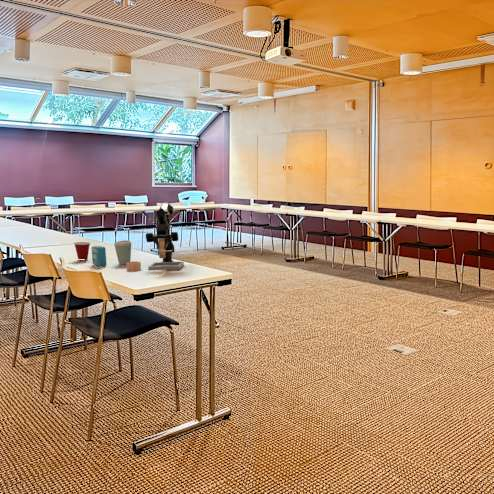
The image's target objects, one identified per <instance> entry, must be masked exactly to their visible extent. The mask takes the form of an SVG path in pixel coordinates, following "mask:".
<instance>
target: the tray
mask: <svg viewBox="0 0 494 494" xmlns="http://www.w3.org/2000/svg"><path fill="white" fill-rule="evenodd" d="M184 265H185V264H184V261H173V262H162V261H160V262H159V261H158V262H157V261H156V262H153V263H151V264H150V265H149V266H148V267H147V268H148V271H153V270H154V271H155V270H159V271H160V270H165V271H166V272H167V271H169V272H170V271H180V270H181V269H182V268H183V267H185V266H184Z"/></svg>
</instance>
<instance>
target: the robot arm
mask: <svg viewBox="0 0 494 494" xmlns="http://www.w3.org/2000/svg"><path fill="white" fill-rule="evenodd" d="M174 210H175V209H174V206H173V205H171V204H170V203H169V202H163V203H162V202H161V206H159V209H158V210H156V212H155V218H156V221H157V224H156V233H154V234H153V232H147V233H145V240H146V242H147V243H154V244H155V245H156V247H157V250H159V242H158V239H165V256H166V258H162V261H161V262H174V259H173V257H172V255H173V253H175V245H174V243H173V242H178V241H179V233H178V232H177V231H171V220H172V219H173V217H174V213H175V211H174Z"/></svg>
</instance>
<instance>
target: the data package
mask: <svg viewBox="0 0 494 494" xmlns="http://www.w3.org/2000/svg"><path fill="white" fill-rule="evenodd" d="M91 257H92V258H91V260H92V265H93V264H94V265H93V266H95V265H97V266H96V267H99V266H101V267H106V266H107V252H106V247H105V246H101V245H93V246H91Z"/></svg>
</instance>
